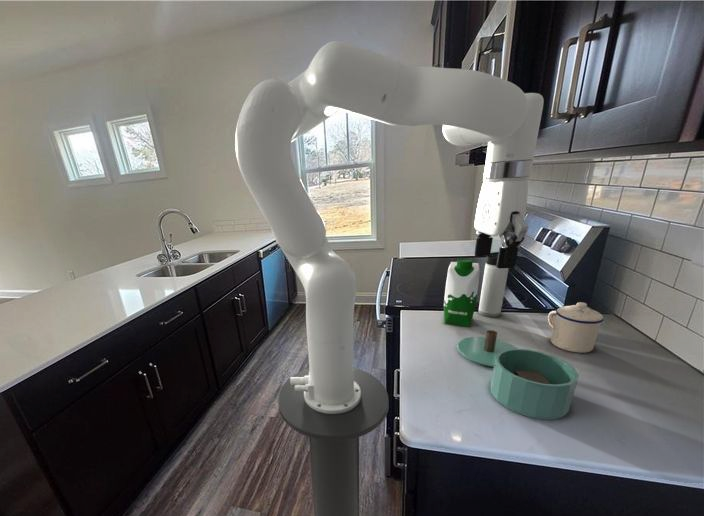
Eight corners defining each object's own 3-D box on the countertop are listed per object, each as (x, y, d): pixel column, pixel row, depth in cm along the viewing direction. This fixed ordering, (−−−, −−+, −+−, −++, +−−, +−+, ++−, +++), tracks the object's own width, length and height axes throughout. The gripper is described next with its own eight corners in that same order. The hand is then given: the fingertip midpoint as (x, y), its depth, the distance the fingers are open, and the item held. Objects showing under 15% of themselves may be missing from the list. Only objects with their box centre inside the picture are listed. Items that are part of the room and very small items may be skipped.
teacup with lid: (603, 350, 79) (617, 307, 75) (572, 356, 77) (585, 312, 73) (559, 330, 90) (568, 291, 86) (531, 334, 88) (539, 295, 84)
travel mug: (506, 315, 101) (517, 253, 94) (488, 318, 99) (498, 256, 92) (490, 308, 107) (500, 249, 99) (473, 311, 105) (482, 252, 98)
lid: (471, 370, 75) (474, 347, 72) (449, 340, 88) (451, 321, 86) (535, 369, 74) (540, 346, 71) (502, 339, 87) (506, 319, 85)
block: (522, 401, 63) (527, 383, 61) (510, 388, 67) (514, 370, 65) (546, 401, 62) (551, 383, 61) (532, 387, 67) (536, 370, 65)
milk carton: (441, 324, 98) (447, 261, 90) (443, 313, 105) (449, 254, 98) (473, 328, 94) (482, 263, 86) (473, 316, 101) (482, 255, 94)
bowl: (511, 420, 59) (518, 386, 57) (479, 377, 72) (484, 349, 69) (586, 419, 58) (597, 386, 55) (540, 377, 71) (547, 347, 68)
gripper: (466, 174, 67) (457, 253, 74) (511, 173, 51) (494, 274, 58) (503, 171, 67) (491, 251, 73) (560, 170, 51) (538, 272, 57)
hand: (492, 261), depth 65 cm, fingers open, 9 cm apart
